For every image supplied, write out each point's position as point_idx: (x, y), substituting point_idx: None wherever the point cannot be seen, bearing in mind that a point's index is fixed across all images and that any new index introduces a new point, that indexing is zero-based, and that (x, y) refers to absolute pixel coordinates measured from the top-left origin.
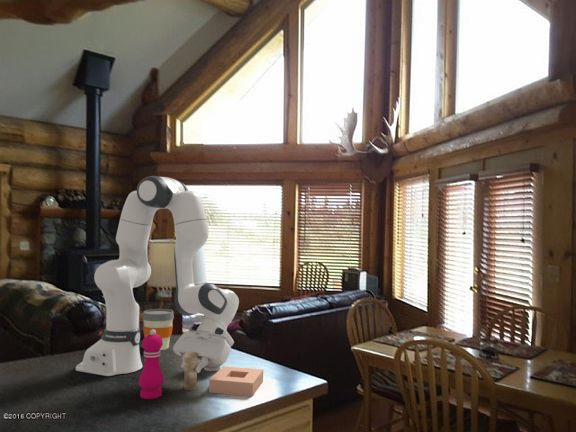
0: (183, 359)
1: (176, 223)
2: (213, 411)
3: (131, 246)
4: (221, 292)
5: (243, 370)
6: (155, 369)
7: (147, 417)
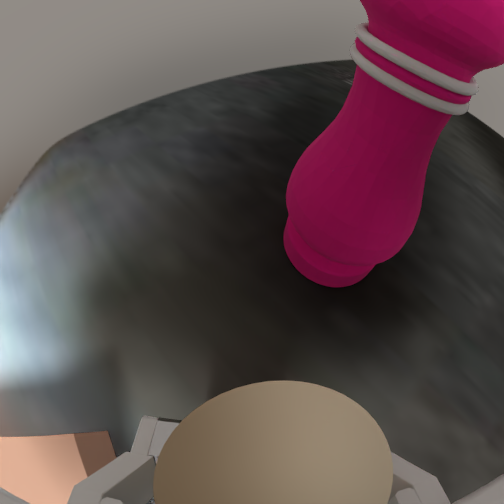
0: (396, 463)
1: None
2: (12, 245)
3: None
4: None
5: None
6: (331, 128)
7: (183, 123)
